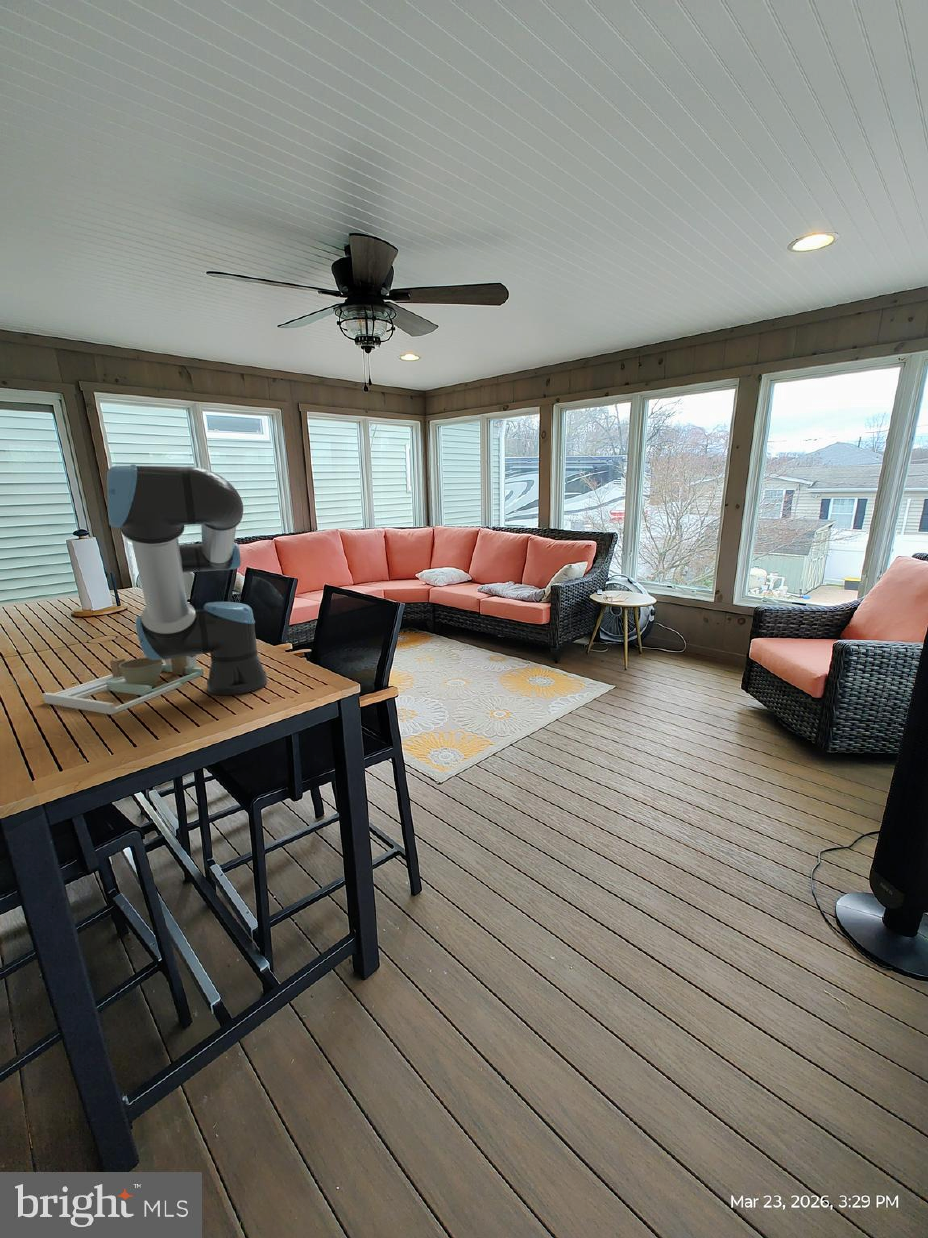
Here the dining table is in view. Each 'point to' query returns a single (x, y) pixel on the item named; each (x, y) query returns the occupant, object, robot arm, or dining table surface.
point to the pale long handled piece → (116, 676)
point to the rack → (95, 705)
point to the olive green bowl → (141, 671)
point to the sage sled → (176, 667)
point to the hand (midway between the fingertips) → (181, 665)
